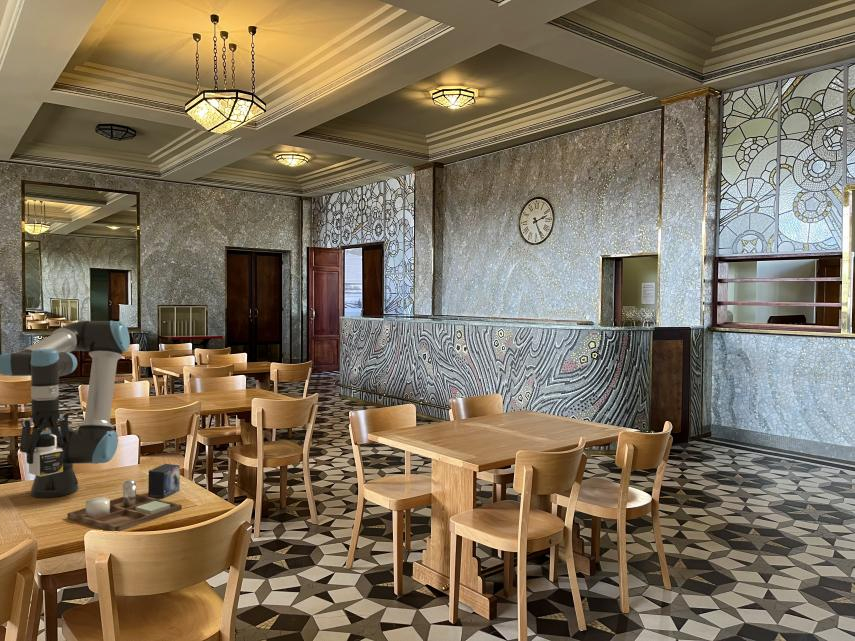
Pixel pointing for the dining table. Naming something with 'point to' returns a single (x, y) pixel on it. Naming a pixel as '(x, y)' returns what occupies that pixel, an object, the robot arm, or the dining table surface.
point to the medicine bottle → (48, 455)
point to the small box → (164, 481)
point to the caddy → (124, 514)
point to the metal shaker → (129, 493)
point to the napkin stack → (152, 507)
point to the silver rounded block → (97, 507)
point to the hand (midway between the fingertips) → (46, 470)
